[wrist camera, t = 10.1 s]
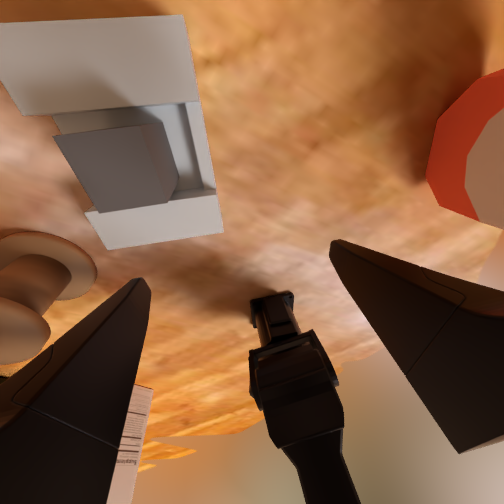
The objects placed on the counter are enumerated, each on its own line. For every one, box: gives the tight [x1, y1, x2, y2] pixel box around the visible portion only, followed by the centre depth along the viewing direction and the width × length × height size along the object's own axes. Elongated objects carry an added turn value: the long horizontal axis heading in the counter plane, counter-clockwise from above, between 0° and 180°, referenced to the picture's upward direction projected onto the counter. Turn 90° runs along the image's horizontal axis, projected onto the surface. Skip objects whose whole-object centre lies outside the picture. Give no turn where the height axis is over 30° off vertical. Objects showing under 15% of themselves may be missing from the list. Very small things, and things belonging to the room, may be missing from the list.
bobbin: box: [0, 232, 97, 365], centre depth 17 cm, size 8×8×8 cm
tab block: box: [52, 122, 180, 214], centre depth 13 cm, size 4×4×6 cm
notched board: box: [0, 15, 224, 250], centre depth 15 cm, size 13×10×3 cm
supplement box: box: [107, 385, 154, 504], centre depth 31 cm, size 9×9×15 cm
